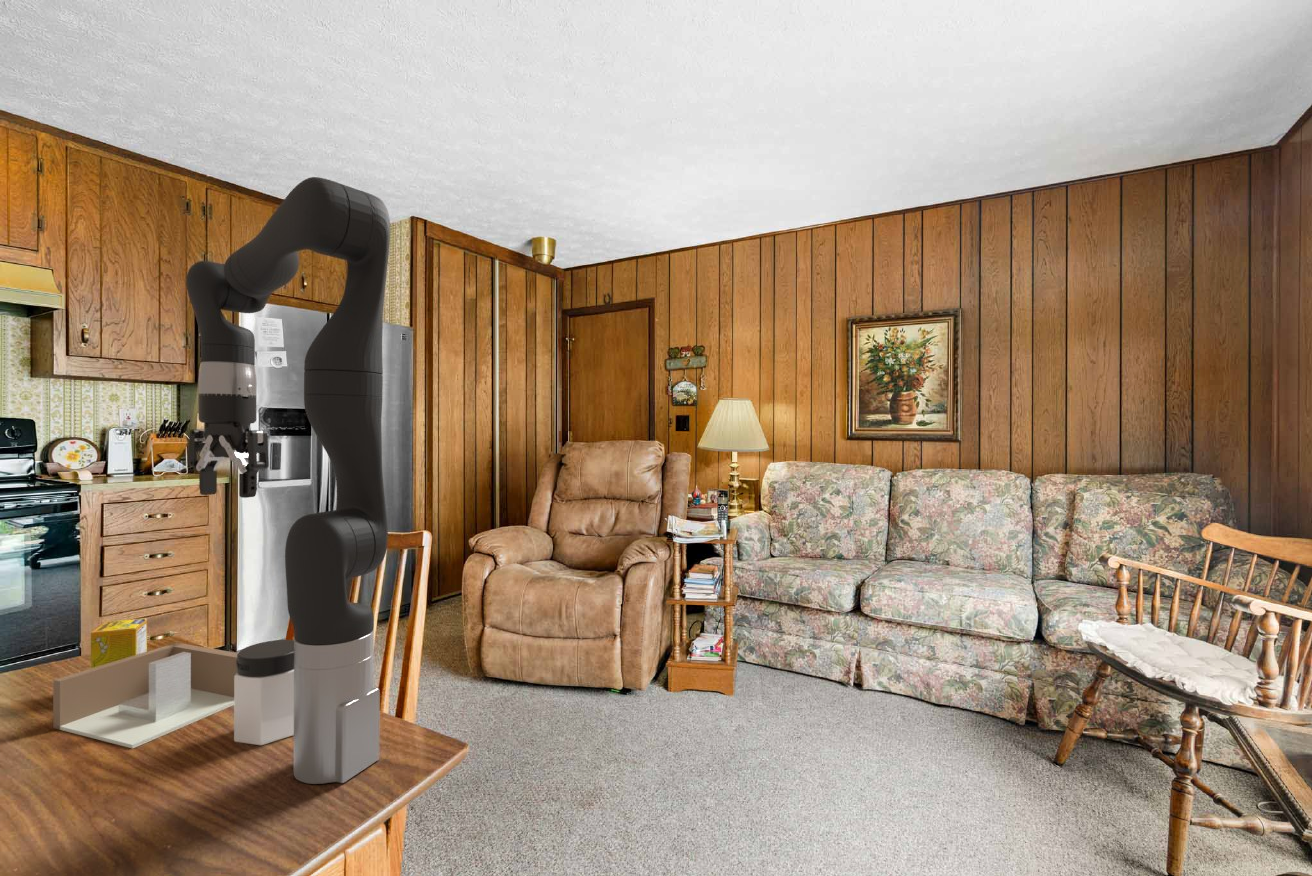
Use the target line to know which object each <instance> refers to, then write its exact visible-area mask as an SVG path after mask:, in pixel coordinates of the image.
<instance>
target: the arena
mask: <svg viewBox="0 0 1312 876" xmlns="http://www.w3.org/2000/svg"><path fill="white" fill-rule="evenodd" d="M182 652H188V653H191V708H189V709H187V710H184V711H182V712H179V713H177V714H174V715H172V716H170V717H167V718H165V719H162V720H160V721H157V722H153V721H148V720H144V719H140V718H135V717H131V716H126V715H122V714H119V704H120V703H123V702H125V701H128V700H131V699H134V698H136V697H139V696H142V695H144V694H147V693H149V663H151V662H154V661H157V660H160V659H163V658H166V657H170V656H173V655H176V654H179V653H182ZM238 653H239V652H234V651H228V650H224V649H223V650H222V649H217V648H211V647H204V646H199V645H193V644H187V643H183V642H182V643H181V642H174V643H170V644H167V645H164V646H162V647H161V646H160V647H158V648H157V647H156V648H154V649H152V650H147V652H144V653H141V654H137V655H134V656H131V657H127V658H124V659H121V660H118V661H114V662H111V663H108V664H104V665H101V666H98V667H95V668H91V667H90V668H89V669H84V670H82V671H78V672H76V673H72V674H68V675H66V676H61V677H58V678H56V679H53V681H52V682H53V683H52V685H53V686H52V687H53V689H52V690H53V692H52V693H53V695H52V696H53V697H52V698H53V701H52V704H53V705H52V707H53V709H52V710H53V714H52V715H53V716H52V717H53V719H52V720H53V721H52V722H53V723H52V725H53V726H52V727H53V728H52V729H56V730H60V731H64V732H68V733H71V734H75V735H78V736H82V737H87V738H90V739H95V740H98V741H101V742H105V743H110V744H114V745H116V746H117V745H118V746H120V747H121V746H122V747H125V748H129V749H135V748H137V747H140V746H141V745H144V744H146V743H149V742H151V741H153V740H156V739H158V738H161V737H162V736H165V735H167V734H170V733H173V732H174V731H176V730H179V729H181V728H184V727H187V726H188V725H190V724H193V723H195V722H197V721H200V720H203V719H205V718H207V717H209V716H211V715H213V714H217V713H218V712H221V711H223V710H226V709H228V708H230V707H234V676H235V675H236V674H237V667H236V661H237V654H238Z"/></svg>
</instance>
